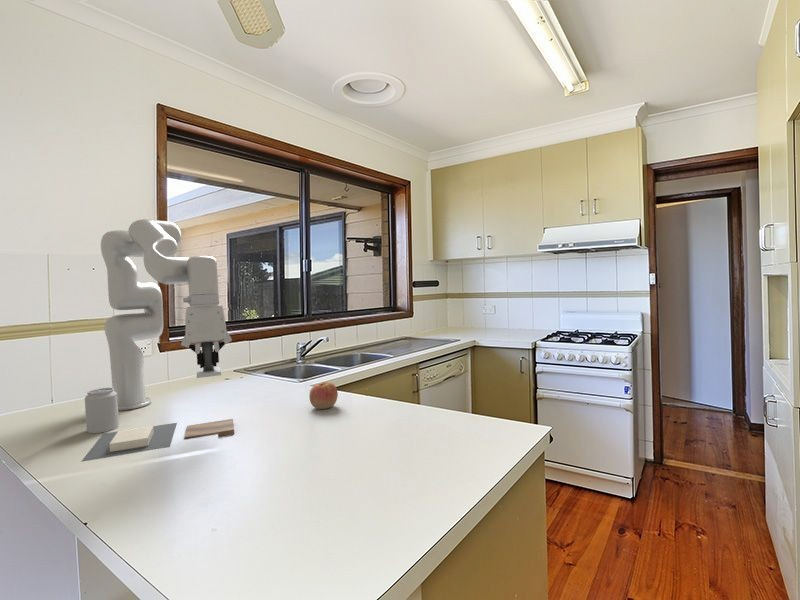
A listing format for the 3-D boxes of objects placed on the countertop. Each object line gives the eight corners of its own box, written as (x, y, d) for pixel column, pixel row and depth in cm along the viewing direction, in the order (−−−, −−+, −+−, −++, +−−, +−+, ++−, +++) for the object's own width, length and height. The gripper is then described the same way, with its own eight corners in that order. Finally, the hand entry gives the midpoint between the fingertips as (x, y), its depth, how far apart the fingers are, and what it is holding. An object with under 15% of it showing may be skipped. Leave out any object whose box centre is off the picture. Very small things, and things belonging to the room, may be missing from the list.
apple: (342, 408, 133) (341, 383, 133) (316, 414, 128) (315, 388, 128) (330, 402, 140) (329, 378, 140) (305, 407, 135) (304, 382, 135)
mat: (103, 436, 115) (103, 433, 115) (177, 425, 122) (177, 422, 122) (81, 464, 97) (81, 461, 97) (169, 449, 104) (169, 446, 104)
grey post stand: (197, 372, 120) (195, 341, 120) (220, 370, 123) (218, 339, 122) (196, 378, 113) (194, 344, 112) (220, 375, 115) (218, 342, 115)
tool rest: (187, 429, 118) (187, 425, 118) (233, 422, 123) (232, 418, 123) (184, 442, 109) (184, 437, 109) (234, 433, 114) (234, 429, 113)
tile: (118, 430, 110) (109, 443, 101) (153, 425, 114) (147, 437, 104) (118, 438, 111) (109, 452, 101) (153, 433, 114) (148, 446, 105)
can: (102, 436, 115) (99, 393, 114) (80, 435, 116) (77, 393, 116) (125, 427, 122) (123, 386, 122) (104, 426, 124) (101, 386, 123)
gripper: (170, 303, 110) (174, 372, 111) (236, 299, 117) (240, 365, 118) (172, 302, 117) (176, 367, 118) (234, 299, 124) (238, 361, 124)
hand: (208, 365), depth 118 cm, fingers closed on grey post stand, 2 cm apart
